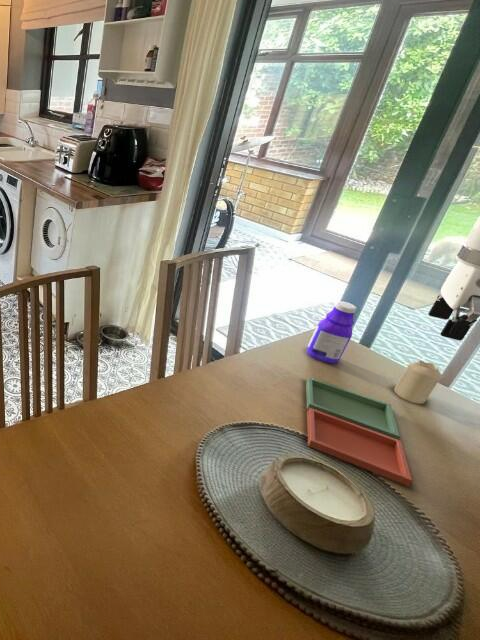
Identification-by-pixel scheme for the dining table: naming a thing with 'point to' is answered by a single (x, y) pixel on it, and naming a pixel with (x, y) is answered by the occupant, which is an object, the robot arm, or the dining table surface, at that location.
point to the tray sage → (351, 407)
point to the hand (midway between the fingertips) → (443, 327)
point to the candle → (418, 382)
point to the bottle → (332, 333)
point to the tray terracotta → (358, 446)
